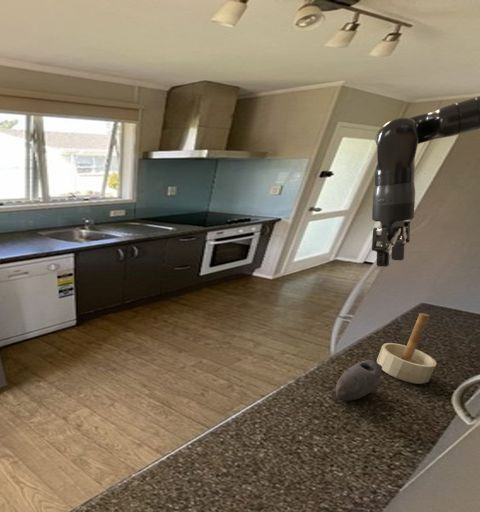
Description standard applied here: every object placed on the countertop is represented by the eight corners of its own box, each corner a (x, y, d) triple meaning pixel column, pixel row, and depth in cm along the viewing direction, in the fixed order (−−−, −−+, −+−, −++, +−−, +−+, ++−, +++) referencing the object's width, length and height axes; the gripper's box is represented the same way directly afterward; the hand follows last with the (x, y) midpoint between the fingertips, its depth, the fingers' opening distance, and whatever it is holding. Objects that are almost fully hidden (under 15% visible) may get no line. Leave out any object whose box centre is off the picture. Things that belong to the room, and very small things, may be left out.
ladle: (397, 365, 76) (418, 311, 71) (408, 370, 74) (431, 315, 69) (393, 371, 74) (415, 316, 69) (405, 376, 72) (429, 320, 67)
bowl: (421, 369, 76) (429, 351, 74) (433, 391, 69) (442, 372, 67) (373, 355, 81) (379, 338, 80) (379, 374, 74) (386, 356, 72)
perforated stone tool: (347, 411, 62) (356, 386, 60) (321, 394, 67) (329, 370, 65) (383, 391, 68) (392, 367, 66) (356, 377, 73) (365, 354, 71)
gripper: (400, 203, 67) (397, 270, 70) (426, 197, 73) (422, 259, 76) (360, 205, 74) (358, 266, 76) (386, 199, 80) (384, 256, 82)
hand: (390, 262), depth 76 cm, fingers open, 8 cm apart
